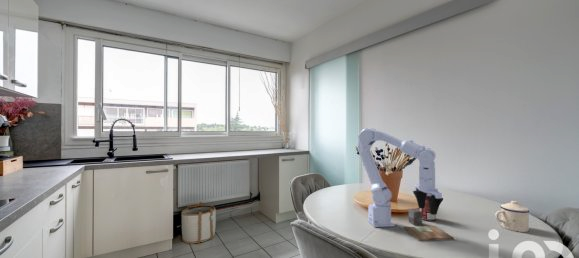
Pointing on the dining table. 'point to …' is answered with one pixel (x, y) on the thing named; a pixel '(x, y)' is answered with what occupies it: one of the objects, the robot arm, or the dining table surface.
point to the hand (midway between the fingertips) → (427, 211)
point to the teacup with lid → (514, 217)
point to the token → (415, 217)
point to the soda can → (427, 211)
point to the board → (428, 233)
